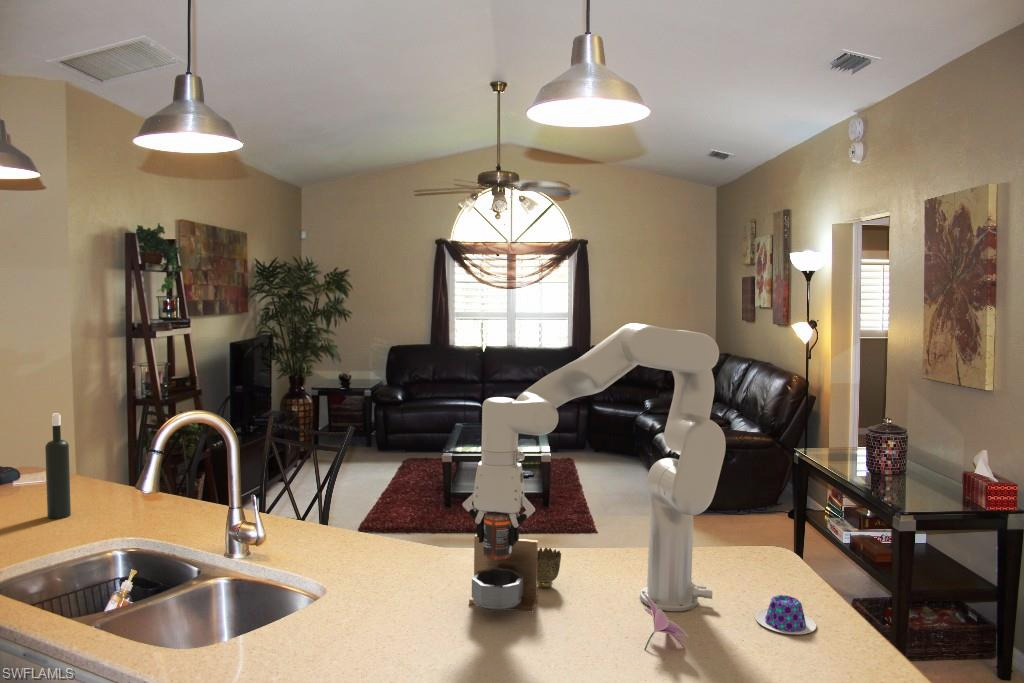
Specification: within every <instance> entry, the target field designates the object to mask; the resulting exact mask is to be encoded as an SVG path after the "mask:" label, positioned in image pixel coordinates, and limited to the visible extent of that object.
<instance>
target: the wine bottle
mask: <svg viewBox="0 0 1024 683" xmlns="http://www.w3.org/2000/svg"><path fill="white" fill-rule="evenodd" d="M61 418H62V416H61V414H60V412H55V413H54V412H53V413H52V415H51V426H52V427H51V428H52V440H50V441H48V442H47V443H46V444H45V448H44V449H45V450H44V451H45V475H46V476H45V477H46V478H45V481H46V482H45V483H46V507H47V510H46V512H47V519H49V520H61V519H65V518H68V517H70V516H71V515H72V514H71V512H72V511H71V508H72V507H71V478H70V446H69V442H67V441H66V440H64V439H62V436H61V435H62V434H61V430H62V429H61V428H62V427H61V424H62V422H61V421H62V419H61Z"/></svg>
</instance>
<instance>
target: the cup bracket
mask: <svg viewBox="0 0 1024 683" xmlns="http://www.w3.org/2000/svg"><path fill="white" fill-rule="evenodd" d="M473 538H474V540H473V542H474V543H473V545H474V549H473V551H474V553H473V554H474V557H473V576H472V577H471V596H470V597H469V598H468V605H469V606H476V607H478V608H479V609H483V610H486V611H492V612H493V611H494V612H503V611H509V610H510V611H511V610H512V611H520V612H529V613H533V612H534V609H535V608H536V606H537V603H538V600H539V595H538V586H537V568H538V550H539V540H537V539H527V538H519V540H518V541H516V543H515V544H514V546H512V551H511V556H510V557H509V558H507V559H504V560H492V559H488V558H486V557H485V556H484V553H483V552H484V551H483V544H484V542H482V543H479V537H477V534H475V535H474V537H473Z"/></svg>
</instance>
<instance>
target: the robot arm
mask: <svg viewBox="0 0 1024 683" xmlns="http://www.w3.org/2000/svg"><path fill="white" fill-rule="evenodd" d="M719 358H720V349H719V346H718V344H717V342H716V340H715V339H714V338H713V337H711V336H710V335H708V334H706V333H702V332H697V331H691V330H687V329H686V330H685V329H672V328H665V327H659V326H656V325H650V324H644V323H636V322H632V323H627V324H625V325H623V326H621V327H620V328H618V329H617V330H616V331H614V332H613V333H612V334H610V335H609V336H607V337H606V338H605V339H603V340H602V341H600V342H599V343H598V344H596V345H594V346H593V347H592V348H591V349H589V351H587V352H585V353H584V354H582V356H580V357H578V358H577V359H575V360H573V361H571V362H569V363H567V364H565V365H564V366H562V367H559V368H558V369H556V370H554V371H552V372H550V373H549V374H547V375H545V376H543V377H542V378H540V379H539V380H538V381H536V382H535V383H534V384H532V385H531V386H529V387H528V388H527V389H525V390H524V391H523V392H521V393H520V394H519V395H518V396H517V398H516V399H515V398H511V397H505V396H496V397H495V396H494V397H489V398H486V399H485V400H484V401H483V403H482V409H481V410H482V412H481V415H482V416H481V418H482V419H481V424H482V425H481V452H480V453H481V455H480V456H481V460H480V461H479V462H478V464H477V466H476V467H477V468H476V472H475V473H476V474H475V480H474V487H473V488H474V489H473V492H472V494H471V495H470V496H468V497H467V499H465V501H463V502H462V504H461V505H462V507H463V508H464V510H466V511H467V512H468V514H469V515H470V516H471V517H472V519H473V520H474V522H475V524H476V535H477V537H479V543H482V542H483V541H484V515H485V514H486V513H487V512H500V513H506V514H509V516H510V519H511V522H512V526H511V527H510V545H511V546H514V544H515V543H516V541H518V540H519V539H520V525H521V524H523V522H525V521H526V520H527V519H528V518H529V517H530V516H531V515H532V514H534V512H536V508H535V506H534V505H533V504H532V503H531V501H530V500H528V498H527V497H526V496H525V482H524V472H523V465H522V463H521V462H520V461H524V460H525V457H526V456H525V453H522V452H520V451H519V450H520V449H519V434H521V435H522V434H523V435H531V436H545V435H547V434H550V433H551V432H553V431H554V430H555V429H556V427H557V425H558V423H559V412H558V408H559V407H560V406H562V405H563V404H566V403H568V402H569V401H571V400H574V399H576V398H580V397H584V396H592V395H594V394H598V393H600V392H603V391H605V389H607V388H609V387H610V386H611V385H613V384H614V383H615V382H617V381H618V380H619V379H621V378H622V377H624V375H626V374H627V373H628V372H630V371H631V370H633V369H634V368H636V367H637V366H638V365H639V366H641V367H647V368H652V369H656V370H657V369H658V370H664V371H671V372H672V375H673V379H674V390H673V396H672V399H671V400H672V401H671V405H670V408H669V412H668V417H667V419H666V420H667V421H666V425H665V428H664V433H663V439H664V443H665V445H666V446H667V448H668V449H670V450H671V451H672V452H674V453H676V454H677V455H678V456H679V458H678V459H677V458H673V457H665V458H661V459H659V460H656V461H655V462H654V463H653V465H652V466H651V467H650V469H649V470H648V473H647V474H648V475H647V478H646V485H647V486H646V489H647V497H648V507H649V508H648V509H649V521H648V522H649V524H648V525H649V526H648V548H647V549H648V552H647V554H648V555H647V576H646V577H647V579H646V580H647V582H646V583H647V584H646V586H644V587H643V588H641V589H640V591H639V599H640V601H642V603H643V604H645V605H646V606H648V607H650V608H651V606H650V604H649V602H648V601H647V599H646V598H645V596H644V595H643V593H644V594H646V595H647V596H648V597H649V598H650V599H651V600H652V601H653V602H654V604H655V605H656V606H657V608H658V609H661V610H662V611H666V612H685V611H689V610H692V609H694V608H696V607H697V605H698V602H699V600H698V599H699V598H703V599H711V600H712V599H713V589H710V588H707V585H702V584H701V585H697V584H696V583H694V582H693V579H694V578H693V577H692V574H693V573H692V571H693V568H692V567H693V544H694V542H693V541H694V516H697V515H700V514H702V513H703V512H705V511H706V510H707V509H708V507H710V505H711V503H712V502H713V499H714V496H715V494H716V490H717V486H718V482H719V478H720V476H721V475H720V474H721V471H722V466H723V464H724V458H725V455H726V444H727V442H726V436H725V433H724V430H722V428H721V427H720V426H719V425H720V424H717V422H715V421H713V420H712V419H710V418H711V413H712V407H713V401H714V397H715V386H716V385H715V378H714V374H713V370H712V369H713V368H714V367H715V366H716V365H717V363H718V361H719ZM521 508H522V509H523V508H524V509H525V511H523V512H522V513H521V514H519V513H520V512H521ZM642 592H643V593H642Z"/></svg>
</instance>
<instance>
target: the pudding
mask: <svg viewBox="0 0 1024 683" xmlns="http://www.w3.org/2000/svg"><path fill="white" fill-rule="evenodd" d="M754 616H755V617H754V618H755V620H756V622H758V624H759V625H761V626H763V627H764V628H766V629H769V630H772V631H774V632H778V633H781V634H787V635H805V634H810V633H812V632H814V631H815V630H816V629H817V624H816V622H815V621H814V619H812V618H811V617H809V616H807V615H806V614H805V613H804V608H803V604H802V603H801V601H800V600H799V599H798V598H796V597H792V596H790V595H785V594H784V595H783V594H779V595H775V596H772V598H770V602H769V605H768V608H765V609H760V610H759V611H757V612H756V614H755V615H754ZM804 628H805V629H804Z"/></svg>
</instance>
